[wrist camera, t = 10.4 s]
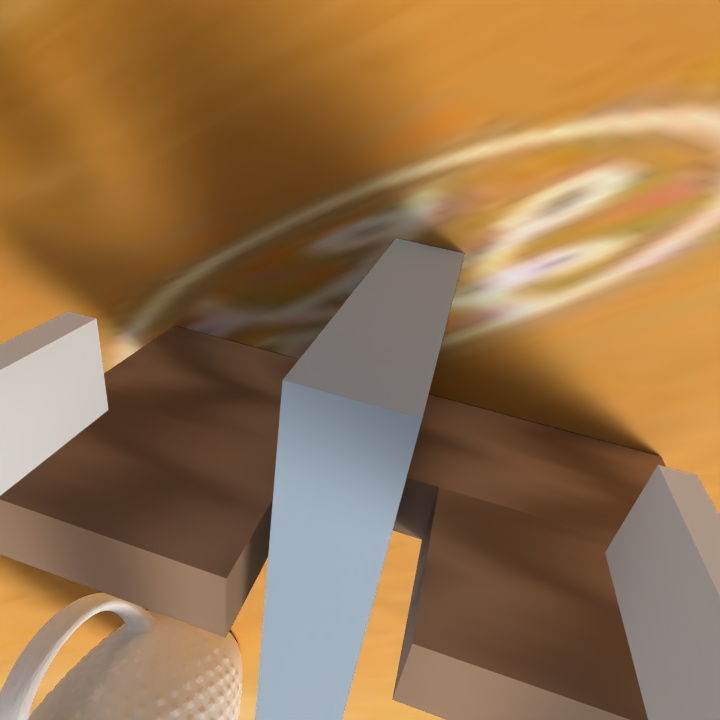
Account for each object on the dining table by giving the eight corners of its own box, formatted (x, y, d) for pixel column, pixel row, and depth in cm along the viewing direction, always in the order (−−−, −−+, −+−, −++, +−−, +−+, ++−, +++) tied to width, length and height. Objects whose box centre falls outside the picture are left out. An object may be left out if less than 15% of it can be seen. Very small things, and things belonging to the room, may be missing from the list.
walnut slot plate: (176, 372, 22) (-30, 543, 13) (174, 325, 21) (-55, 480, 12) (633, 502, 19) (739, 827, 10) (661, 456, 18) (806, 781, 9)
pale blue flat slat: (390, 533, 23) (324, 783, 15) (343, 518, 24) (252, 754, 15) (464, 253, 16) (421, 418, 8) (395, 238, 17) (282, 380, 8)
